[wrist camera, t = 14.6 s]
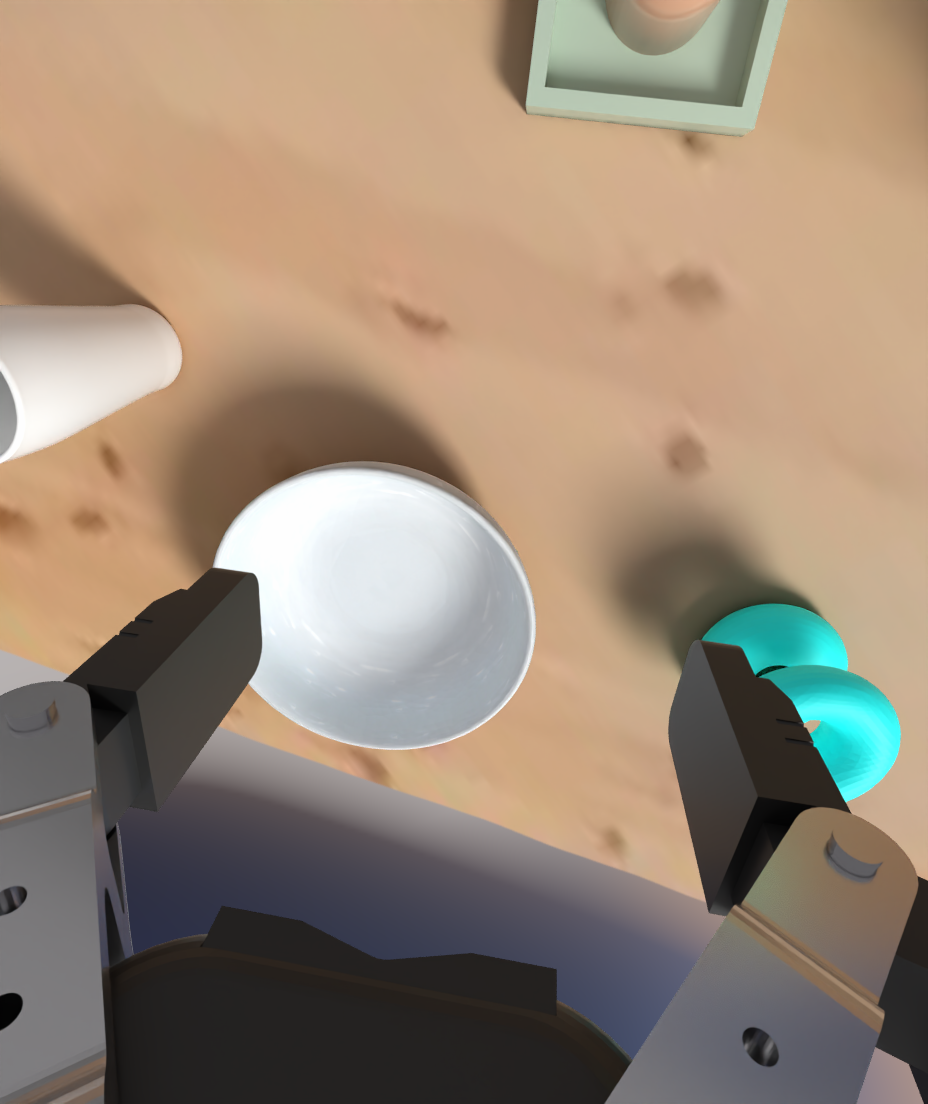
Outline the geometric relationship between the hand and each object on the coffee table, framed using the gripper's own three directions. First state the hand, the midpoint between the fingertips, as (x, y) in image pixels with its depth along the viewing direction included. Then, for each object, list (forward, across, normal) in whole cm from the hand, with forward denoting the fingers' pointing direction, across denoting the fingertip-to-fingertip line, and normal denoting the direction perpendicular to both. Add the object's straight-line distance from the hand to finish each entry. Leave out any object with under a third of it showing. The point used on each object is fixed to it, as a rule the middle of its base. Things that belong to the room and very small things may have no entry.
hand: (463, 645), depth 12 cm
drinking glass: (+30, +24, +1) cm, 38 cm away
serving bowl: (+30, +8, +16) cm, 35 cm away
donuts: (+30, -19, +18) cm, 40 cm away
